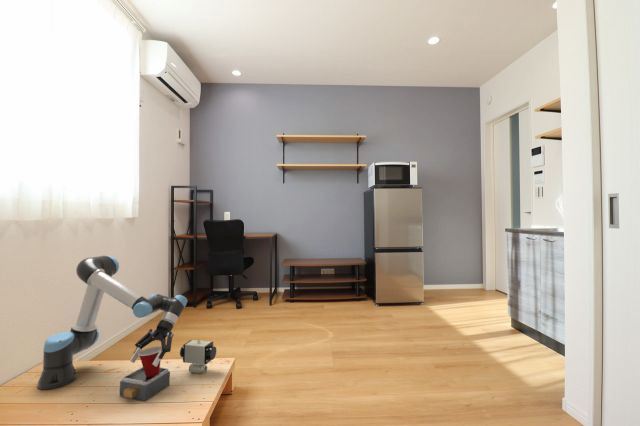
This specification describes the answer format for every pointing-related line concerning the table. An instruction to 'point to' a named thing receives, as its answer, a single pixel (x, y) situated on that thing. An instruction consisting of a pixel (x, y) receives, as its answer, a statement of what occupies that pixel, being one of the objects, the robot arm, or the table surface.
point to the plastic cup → (150, 360)
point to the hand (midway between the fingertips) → (142, 363)
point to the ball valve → (198, 355)
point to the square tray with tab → (144, 384)
